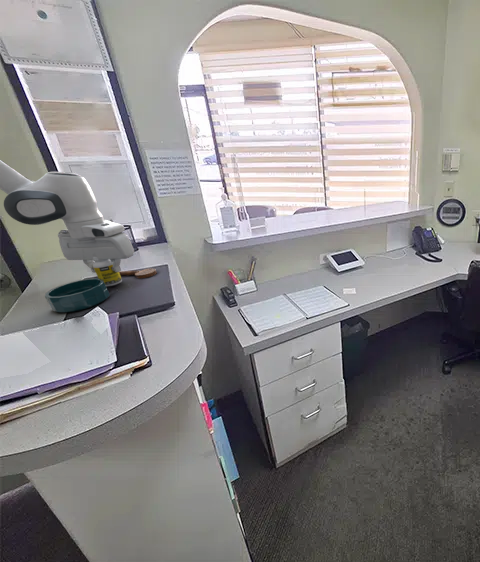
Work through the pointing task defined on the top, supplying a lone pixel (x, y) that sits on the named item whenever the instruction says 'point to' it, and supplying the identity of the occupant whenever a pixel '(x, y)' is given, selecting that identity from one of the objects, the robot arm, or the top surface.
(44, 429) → the top surface
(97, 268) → the supplement bottle
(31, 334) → the top surface
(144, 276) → the spoon
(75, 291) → the bowl
